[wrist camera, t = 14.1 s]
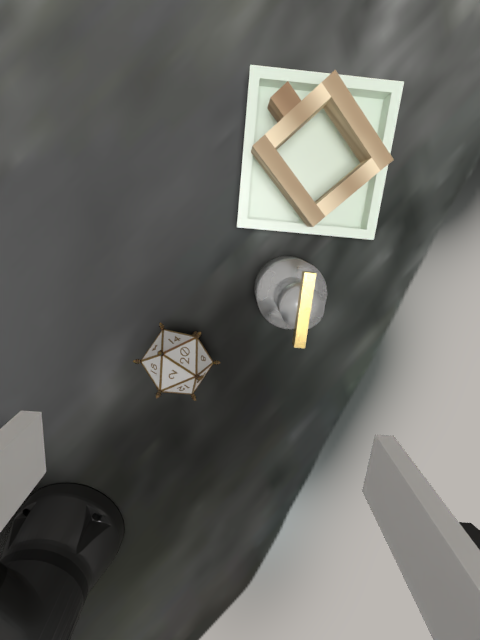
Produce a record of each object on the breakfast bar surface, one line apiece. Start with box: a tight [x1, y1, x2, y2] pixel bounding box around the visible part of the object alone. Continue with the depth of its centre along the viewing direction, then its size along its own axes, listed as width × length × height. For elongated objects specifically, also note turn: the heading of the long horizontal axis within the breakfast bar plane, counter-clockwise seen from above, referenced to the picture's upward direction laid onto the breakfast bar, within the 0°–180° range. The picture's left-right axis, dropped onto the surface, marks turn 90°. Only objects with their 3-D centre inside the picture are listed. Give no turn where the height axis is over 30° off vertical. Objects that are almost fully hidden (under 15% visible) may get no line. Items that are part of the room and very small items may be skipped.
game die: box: [133, 323, 221, 401], centre depth 39 cm, size 9×8×10 cm
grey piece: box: [254, 256, 327, 348], centre depth 35 cm, size 8×8×12 cm
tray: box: [237, 65, 404, 240], centre depth 36 cm, size 15×15×2 cm
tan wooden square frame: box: [251, 70, 394, 227], centre depth 33 cm, size 10×12×3 cm
